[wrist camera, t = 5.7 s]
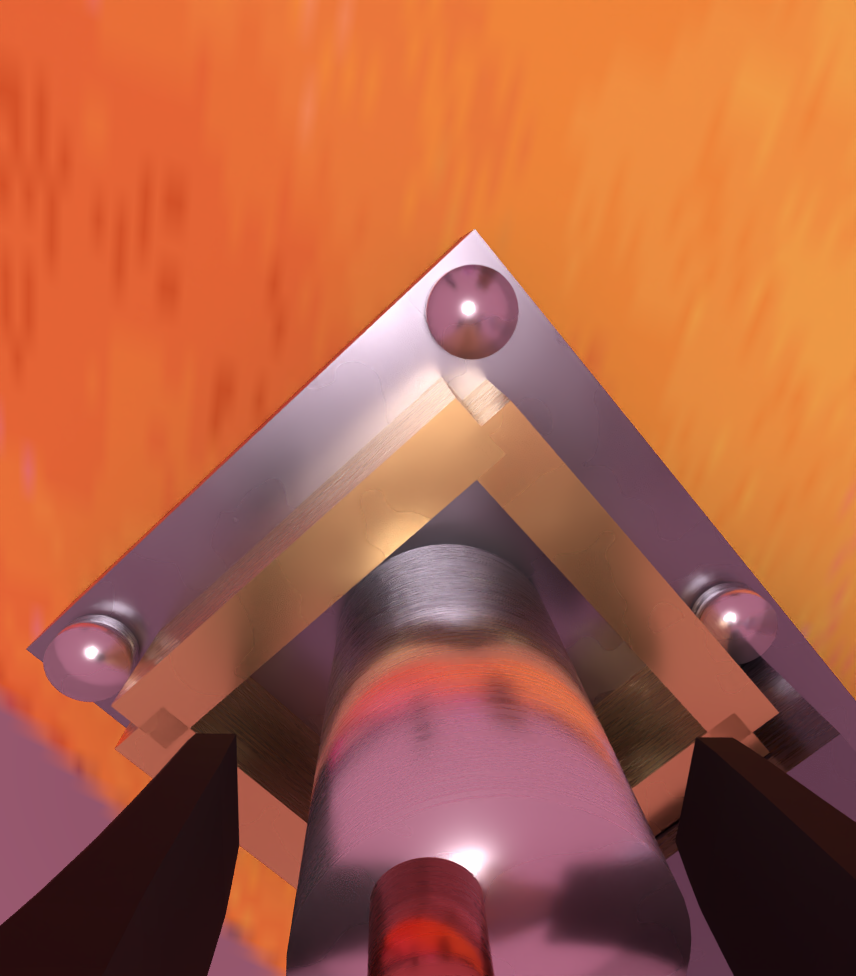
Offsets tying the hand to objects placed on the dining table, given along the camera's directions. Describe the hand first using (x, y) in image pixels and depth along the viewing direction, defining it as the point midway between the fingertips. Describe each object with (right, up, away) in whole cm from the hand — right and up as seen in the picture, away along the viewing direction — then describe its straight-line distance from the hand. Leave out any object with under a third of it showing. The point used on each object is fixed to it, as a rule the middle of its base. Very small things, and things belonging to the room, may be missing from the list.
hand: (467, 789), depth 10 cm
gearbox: (+1, 0, +6) cm, 6 cm away
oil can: (0, +1, +4) cm, 4 cm away
